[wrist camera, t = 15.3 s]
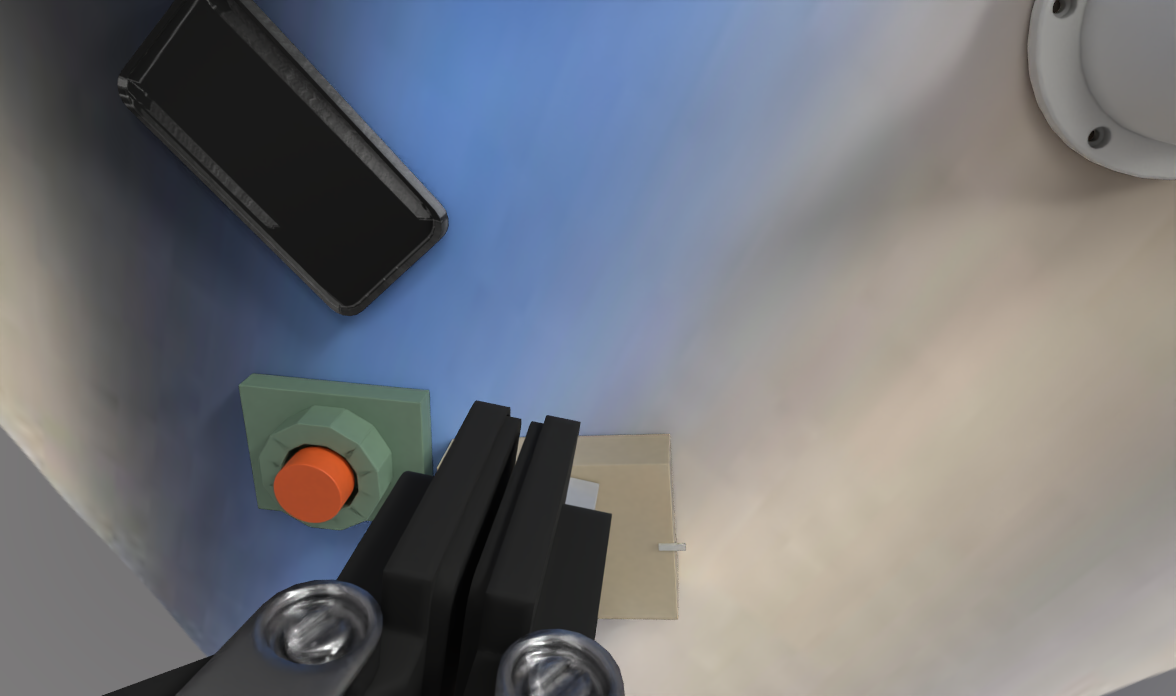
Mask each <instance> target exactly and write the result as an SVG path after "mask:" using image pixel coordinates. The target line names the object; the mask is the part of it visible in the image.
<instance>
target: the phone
mask: <svg viewBox="0 0 1176 696" xmlns="http://www.w3.org/2000/svg"><path fill="white" fill-rule="evenodd" d="M118 91H119V95H120V97H121V99H122V101H123V103H124V104H125V105H126V106H127V108H128V109H129V110H130V111H131V112H132V113H133V114H134V115H135V116H136V117H137V118H138V119H139V120H140V121H141V122H142V123H143V124H144V125H145V126H146V127H147V128H148V129H149V130H150V131H152V132H153V133H154V134H155V135H156V136H157V137H158V138H159V139H160V140H161V141H162V142H163V143H164V144H165V145H166V146H167V147H168V148H169V149H170V150H171V151H172V152H173V153H174V154H175V155H176V156H177V157H178V158H179V159H180V160H181V161H182V162H183V163H184V164H185V165H186V166H187V167H188V168H189V169H190V170H191V171H192V172H193V173H194V174H195V175H196V176H197V177H198V178H199V179H200V180H201V181H202V182H203V183H204V184H205V185H206V186H207V187H208V188H209V189H210V190H211V191H212V192H213V193H214V194H215V195H216V196H217V197H218V198H219V199H220V200H221V201H222V202H223V203H225V204H226V205H227V206H228V207H229V208H230V209H231V210H232V211H233V212H234V213H235V214H236V215H237V216H238V217H239V218H240V219H241V220H242V221H243V222H244V223H245V224H246V225H247V226H248V227H249V228H250V229H251V230H252V231H253V232H254V233H255V234H256V235H257V236H258V237H259V238H260V239H261V240H262V241H263V242H264V243H265V244H266V245H267V246H268V247H269V248H270V249H271V250H272V251H273V252H274V253H275V254H276V255H277V256H278V257H279V258H280V259H281V260H282V261H283V262H284V263H285V264H286V265H287V266H288V267H289V268H290V269H291V270H292V271H293V272H294V273H295V274H296V275H297V276H298V277H299V278H301V279H302V280H303V281H304V282H305V283H306V284H307V285H308V286H309V287H310V288H311V289H312V290H313V291H314V292H315V293H316V294H317V295H318V296H319V297H320V298H321V299H322V300H323V301H324V302H325V303H326V304H327V305H328V306H329V307H330V308H331V309H332V310H334V311H335V312H336V313H339V314H341V315H345V316H352V315H357V314H358V313H360V312H362V311H363V310H364V309H365V308H366V307H367V306H368V305H369V304H371V303H372V302H373V301H374V300H375V299H376V298H377V297H378V296H379V295H380V294H381V293H382V292H384V291H385V290H386V289H387V288H388V287H389V286H390V285H391V284H392V283H393V282H394V281H396V280H397V279H398V278H399V277H400V276H401V275H402V274H403V273H404V272H405V271H406V270H407V269H409V268H410V267H411V266H412V265H413V264H414V263H415V262H416V261H417V260H418V259H419V258H421V257H422V256H423V255H424V254H425V253H426V252H427V251H428V250H429V249H430V248H431V247H433V246H434V245H435V244H436V243H437V242H438V241H439V240H440V239H441V238H442V237H443V236H444V234H445V233H446V231H447V228H448V216H447V213H446V211H445V209H444V208H443V206H442V205H441V204H440V202H439V201H438V200H437V199H436V198H435V197H434V196H433V195H432V194H431V193H430V192H429V191H428V190H427V188H426V187H425V186H424V185H423V184H422V183H421V182H420V181H419V180H418V179H417V178H416V177H415V175H414V174H413V173H412V172H411V171H410V170H409V169H408V168H407V167H406V166H405V165H404V164H403V162H402V161H401V160H400V159H399V158H398V157H397V156H396V155H395V154H394V153H393V152H392V151H391V150H390V148H389V147H388V146H387V145H386V144H385V143H384V142H383V141H382V140H381V139H380V138H379V137H378V135H377V134H376V133H375V132H374V131H373V130H372V129H371V128H370V127H369V126H368V125H367V124H366V122H365V121H364V120H363V119H362V118H361V117H360V116H359V115H358V114H357V113H356V112H355V111H354V110H353V108H352V107H351V106H350V105H349V104H348V103H347V102H346V101H345V100H344V99H343V98H342V97H341V95H340V94H339V93H338V92H337V91H336V90H335V89H334V88H333V87H332V86H331V85H330V84H329V82H328V81H327V80H326V79H325V78H324V77H323V76H322V75H321V74H320V73H319V72H318V71H317V70H316V68H315V67H314V66H313V65H312V64H311V63H310V62H309V61H308V60H307V59H306V58H305V57H304V55H303V54H302V53H301V52H300V51H299V50H298V49H297V48H296V47H295V46H294V45H293V44H292V43H291V41H290V40H289V39H288V38H287V37H286V36H285V35H284V34H283V33H282V32H281V31H280V30H279V28H278V27H277V26H276V25H275V24H274V23H273V22H272V21H271V20H270V19H269V18H268V17H267V15H266V14H265V13H264V12H263V11H262V10H261V9H260V8H259V7H258V6H257V5H256V4H255V3H254V1H253V0H175V1H174V2H173V4H172V5H171V6H170V8H169V9H168V10H167V12H166V13H165V14H164V15H163V17H162V18H161V19H160V21H159V22H158V23H157V25H156V26H155V27H154V29H153V30H152V31H151V33H150V34H149V35H148V37H147V38H146V39H145V41H144V42H143V43H142V45H141V46H140V47H139V48H138V50H137V51H136V52H135V54H134V55H133V56H132V58H131V59H130V60H129V62H128V63H127V64H126V66H125V67H124V68H123V70H122V71H121V73H120V75H119V77H118Z"/></svg>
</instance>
